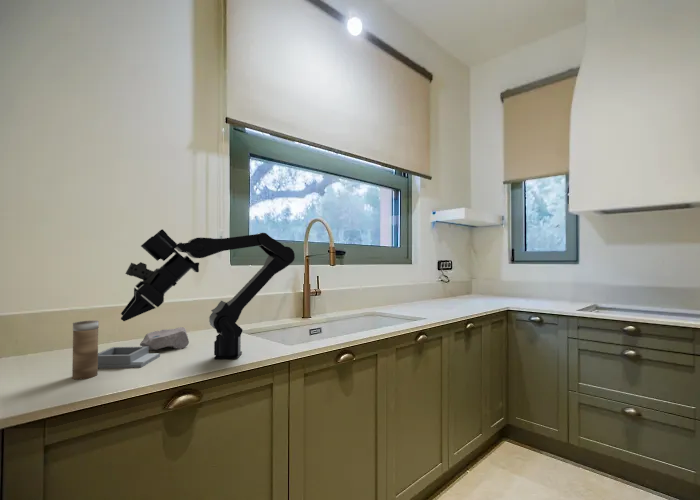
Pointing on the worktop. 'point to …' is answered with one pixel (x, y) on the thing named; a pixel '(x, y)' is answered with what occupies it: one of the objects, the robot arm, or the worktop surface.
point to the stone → (166, 339)
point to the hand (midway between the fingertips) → (122, 317)
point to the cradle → (125, 357)
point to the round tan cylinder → (85, 349)
